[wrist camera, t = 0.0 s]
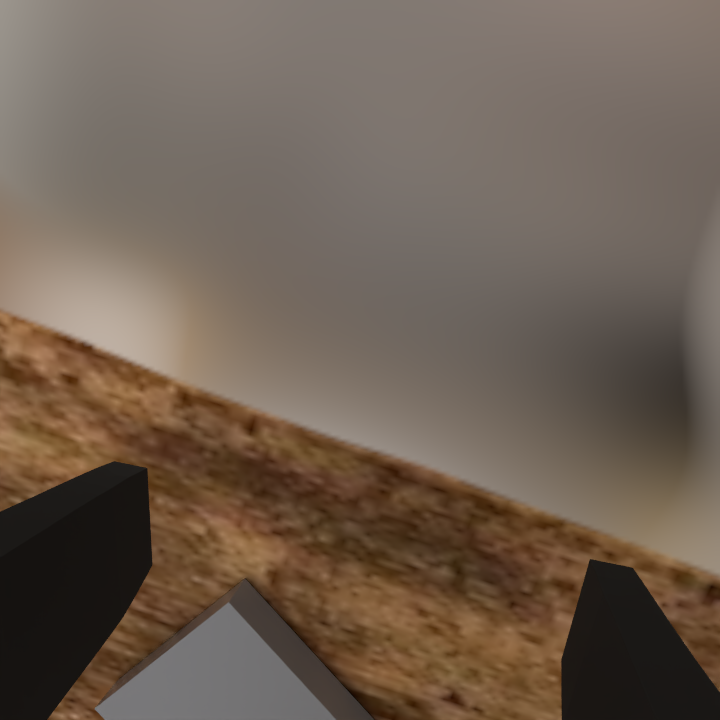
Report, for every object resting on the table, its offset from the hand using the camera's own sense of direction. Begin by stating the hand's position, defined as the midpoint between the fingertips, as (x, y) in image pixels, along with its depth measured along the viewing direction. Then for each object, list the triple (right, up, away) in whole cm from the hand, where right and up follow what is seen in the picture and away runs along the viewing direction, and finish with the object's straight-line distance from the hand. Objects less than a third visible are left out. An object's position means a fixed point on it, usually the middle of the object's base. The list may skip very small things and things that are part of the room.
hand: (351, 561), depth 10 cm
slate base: (-4, -10, +14) cm, 18 cm away
